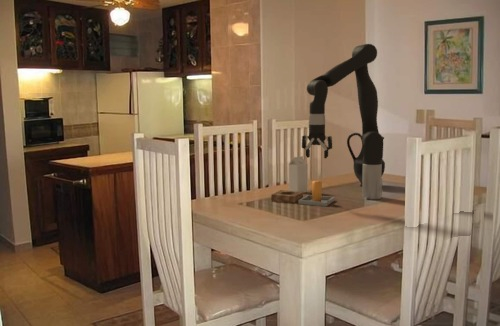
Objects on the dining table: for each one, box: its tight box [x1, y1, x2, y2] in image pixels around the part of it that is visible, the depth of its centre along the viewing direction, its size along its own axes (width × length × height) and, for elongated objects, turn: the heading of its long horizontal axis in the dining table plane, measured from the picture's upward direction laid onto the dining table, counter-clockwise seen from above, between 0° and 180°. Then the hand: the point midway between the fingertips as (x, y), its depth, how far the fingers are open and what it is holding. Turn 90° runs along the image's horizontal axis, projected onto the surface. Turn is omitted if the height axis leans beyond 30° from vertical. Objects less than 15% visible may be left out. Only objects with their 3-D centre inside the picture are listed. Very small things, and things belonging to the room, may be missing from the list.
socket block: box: [270, 189, 304, 204], centre depth 247 cm, size 12×12×4 cm
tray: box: [297, 194, 336, 207], centre depth 241 cm, size 14×14×2 cm
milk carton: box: [288, 155, 308, 193], centre depth 268 cm, size 7×7×19 cm
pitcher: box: [346, 132, 386, 188], centre depth 281 cm, size 17×21×30 cm
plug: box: [311, 180, 323, 202], centre depth 240 cm, size 4×4×10 cm
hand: (316, 157), depth 238 cm, fingers open, 8 cm apart
